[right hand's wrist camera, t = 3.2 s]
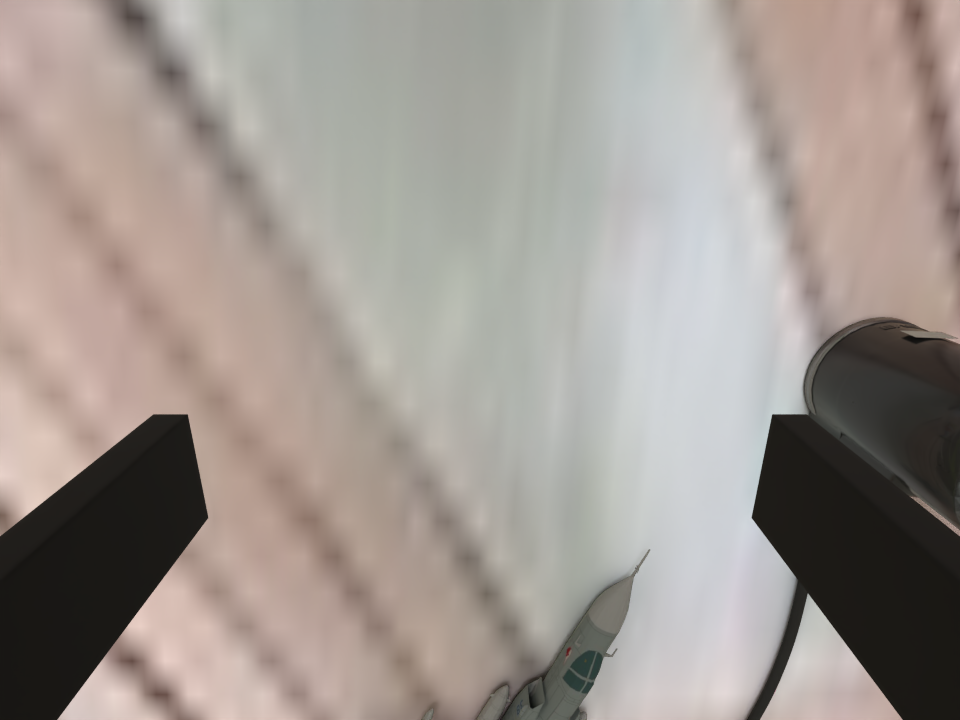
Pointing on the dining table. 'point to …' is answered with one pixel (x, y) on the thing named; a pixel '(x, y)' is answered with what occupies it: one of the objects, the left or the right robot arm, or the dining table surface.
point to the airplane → (568, 665)
